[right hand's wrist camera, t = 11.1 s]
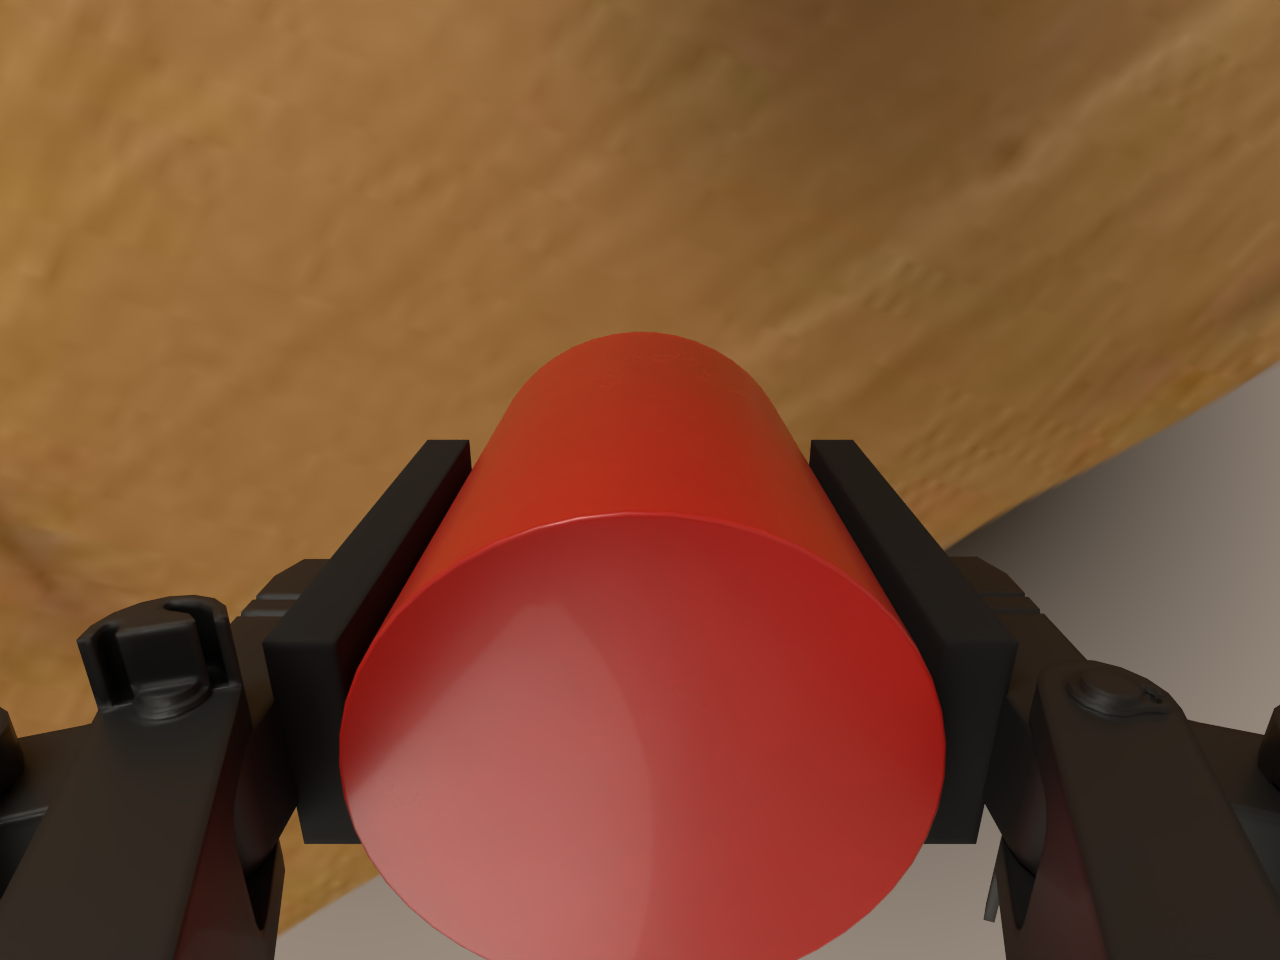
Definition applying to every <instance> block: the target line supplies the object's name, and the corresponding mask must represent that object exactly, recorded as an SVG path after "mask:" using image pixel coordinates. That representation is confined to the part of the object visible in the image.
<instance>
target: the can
mask: <svg viewBox="0 0 1280 960" xmlns="http://www.w3.org/2000/svg"><path fill="white" fill-rule="evenodd" d="M945 762H946V736H945V728H944V720H943V713H942V708H941V705H940V701H939V698H938V695H937V691H936V688H935V685H934V682H933V678H932V676H931V674H930V672H929V670H928V668H927V666H926V664H925V662H924V660H923V658H922V656H921V654H920V652H919V650H918V648H917V646H916V644H915V643H914V641H913V639H912V638H911V636H910V634H909V633H908V631H907V629H906V628H905V626H904V624H903V623H902V621H901V619H900V618H899V616H898V614H897V613H896V611H895V609H894V607H893V606H892V604H891V602H890V601H889V599H888V597H887V596H886V594H885V592H884V591H883V589H882V587H881V586H880V584H879V582H878V581H877V579H876V577H875V575H874V574H873V572H872V570H871V569H870V567H869V565H868V564H867V562H866V560H865V559H864V557H863V555H862V554H861V552H860V550H859V549H858V547H857V545H856V544H855V542H854V540H853V538H852V537H851V535H850V533H849V532H848V530H847V528H846V527H845V525H844V523H843V522H842V520H841V518H840V517H839V515H838V513H837V512H836V510H835V508H834V506H833V505H832V503H831V501H830V500H829V498H828V496H827V495H826V493H825V491H824V490H823V488H822V486H821V485H820V483H819V481H818V480H817V478H816V476H815V474H814V473H813V471H812V469H811V468H810V466H809V464H808V463H807V461H806V459H805V458H804V456H803V454H802V453H801V451H800V449H799V448H798V446H797V444H796V443H795V441H794V439H793V437H792V436H791V434H790V432H789V431H788V429H787V427H786V426H785V424H784V422H783V421H782V419H781V417H780V416H779V414H778V412H777V411H776V409H775V407H774V405H773V404H772V402H771V401H770V399H769V398H768V397H767V395H766V394H765V392H764V391H763V389H762V388H761V387H760V386H759V385H758V384H757V383H756V381H755V380H754V379H753V378H752V377H751V376H750V375H749V374H748V373H747V372H746V371H745V370H743V369H742V368H741V367H740V366H738V365H737V364H736V363H735V362H734V361H732V360H731V359H729V358H727V357H726V356H724V355H723V354H721V353H719V352H718V351H716V350H714V349H712V348H710V347H707V346H705V345H703V344H701V343H698V342H696V341H693V340H689V339H686V338H682V337H679V336H675V335H668V334H662V333H655V332H630V333H621V334H613V335H609V336H605V337H601V338H597V339H593V340H590V341H588V342H585V343H583V344H580V345H577V346H575V347H573V348H571V349H569V350H567V351H566V352H564V353H562V354H560V355H558V356H557V357H555V358H554V359H552V360H551V361H550V362H548V363H547V364H546V365H544V366H543V367H542V368H540V369H539V370H538V371H537V372H536V373H535V374H534V375H533V376H532V377H531V378H530V379H529V380H528V381H527V382H526V383H525V384H524V386H523V387H522V388H521V389H520V391H519V392H518V393H517V395H516V396H515V397H514V399H513V400H512V402H511V404H510V405H509V407H508V409H507V411H506V412H505V414H504V416H503V417H502V419H501V421H500V423H499V424H498V426H497V428H496V430H495V431H494V433H493V435H492V436H491V438H490V440H489V442H488V443H487V445H486V447H485V448H484V450H483V452H482V454H481V455H480V457H479V459H478V460H477V462H476V464H475V466H474V467H473V469H472V471H471V473H470V474H469V476H468V478H467V479H466V481H465V483H464V485H463V486H462V488H461V490H460V491H459V493H458V495H457V497H456V498H455V500H454V502H453V503H452V505H451V507H450V509H449V510H448V512H447V514H446V515H445V517H444V519H443V521H442V522H441V524H440V526H439V528H438V529H437V531H436V533H435V534H434V536H433V538H432V540H431V541H430V543H429V545H428V546H427V548H426V550H425V552H424V553H423V555H422V557H421V558H420V560H419V562H418V564H417V565H416V567H415V569H414V571H413V572H412V574H411V576H410V577H409V579H408V581H407V583H406V584H405V586H404V588H403V589H402V591H401V593H400V595H399V596H398V598H397V600H396V601H395V603H394V605H393V607H392V608H391V610H390V612H389V613H388V615H387V617H386V619H385V620H384V622H383V624H382V626H381V627H380V629H379V631H378V632H377V634H376V636H375V638H374V639H373V641H372V643H371V645H370V647H369V648H368V650H367V652H366V654H365V656H364V657H363V659H362V661H361V663H360V665H359V666H358V668H357V670H356V673H355V676H354V679H353V681H352V684H351V687H350V690H349V693H348V695H347V698H346V701H345V706H344V712H343V717H342V723H341V729H340V748H339V767H340V774H341V780H342V787H343V793H344V799H345V802H346V805H347V808H348V811H349V814H350V817H351V821H352V824H353V827H354V829H355V831H356V833H357V835H358V837H359V839H360V841H361V843H362V845H363V847H364V849H365V851H366V853H367V855H368V857H369V858H370V860H371V861H372V863H373V864H374V866H375V867H376V868H377V870H378V871H379V873H380V874H381V876H382V877H383V878H384V880H385V881H386V883H387V884H388V885H389V886H390V887H391V888H392V889H393V890H394V891H395V893H396V894H397V895H398V896H399V897H400V898H401V899H402V900H403V901H404V902H405V903H406V905H407V906H408V907H410V908H411V909H412V910H413V911H414V912H415V913H417V914H418V915H419V916H420V917H421V918H423V919H424V920H425V921H426V922H427V923H428V924H430V925H431V926H432V927H433V928H435V929H436V930H438V931H439V932H441V933H442V934H444V935H445V936H446V937H448V938H449V939H451V940H452V941H454V942H455V943H457V944H458V945H460V946H462V947H464V948H466V949H468V950H469V951H471V952H473V953H475V954H477V955H479V956H481V957H483V958H485V959H486V960H798V959H800V958H802V957H804V956H806V955H808V954H810V953H812V952H814V951H816V950H818V949H819V948H821V947H823V946H824V945H826V944H827V943H829V942H831V941H832V940H834V939H835V938H837V937H838V936H840V935H842V934H843V933H845V932H846V931H847V930H849V929H850V928H851V927H852V926H854V925H855V924H856V923H857V922H859V921H860V920H861V919H862V918H864V917H865V916H866V915H867V914H869V913H870V912H871V911H872V910H873V909H874V908H875V907H876V906H877V905H878V904H879V903H880V902H881V901H882V900H883V899H884V898H885V897H886V896H887V895H888V894H889V893H890V892H891V891H892V890H893V888H894V887H895V886H896V885H897V883H898V882H899V881H900V879H901V878H902V877H903V875H904V874H905V873H906V871H907V870H908V869H909V867H910V866H911V865H912V863H913V861H914V860H915V858H916V856H917V854H918V853H919V851H920V849H921V847H922V845H923V844H924V842H925V840H926V838H927V836H928V834H929V831H930V828H931V826H932V823H933V821H934V818H935V815H936V813H937V810H938V807H939V802H940V798H941V793H942V788H943V783H944V778H945Z"/></svg>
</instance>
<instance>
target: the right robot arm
mask: <svg viewBox="0 0 1280 960" xmlns="http://www.w3.org/2000/svg"><path fill="white" fill-rule="evenodd" d="M809 466H810V468H811V469H812V471H813V473H814V474H815V476H816V478H817V480H818V481H819V483H820V485H821V486H822V488H823V490H824V491H825V493H826V495H827V496H828V498H829V500H830V501H831V503H832V505H833V506H834V508H835V510H836V512H837V513H838V515H839V517H840V518H841V520H842V522H843V523H844V525H845V527H846V528H847V530H848V532H849V533H850V535H851V537H852V538H853V540H854V542H855V544H856V545H857V547H858V549H859V550H860V552H861V554H862V555H863V557H864V559H865V560H866V562H867V564H868V565H869V567H870V569H871V570H872V572H873V574H874V575H875V577H876V579H877V581H878V582H879V584H880V586H881V587H882V589H883V591H884V592H885V594H886V596H887V597H888V599H889V601H890V602H891V604H892V606H893V607H894V609H895V611H896V613H897V614H898V616H899V618H900V619H901V621H902V623H903V624H904V626H905V628H906V629H907V631H908V633H909V634H910V636H911V638H912V639H913V641H914V643H915V644H916V646H917V648H918V650H919V652H920V654H921V656H922V658H923V660H924V662H925V664H926V666H927V668H928V670H929V672H930V674H931V676H932V678H933V682H934V685H935V688H936V691H937V695H938V698H939V701H940V705H941V708H942V713H943V720H944V728H945V736H946V762H945V778H944V783H943V788H942V793H941V798H940V802H939V807H938V810H937V813H936V815H935V818H934V821H933V823H932V826H931V828H930V831H929V834H928V836H927V838H926V840H925V842H924V844H976V842H977V837H978V832H979V828H980V823H981V818H982V813H983V809H984V804H985V805H986V807H987V808H988V810H989V812H990V814H991V816H992V817H993V819H994V821H995V823H996V825H997V826H998V828H999V830H1000V832H1001V834H1002V837H1001V841H1000V846H999V850H998V854H997V859H996V863H995V868H994V872H993V876H992V881H991V885H990V889H989V894H988V898H987V902H986V908H985V914H984V920H987V921H991V922H995V918H996V914H997V909H998V906H999V905H1000V913H1001V920H1002V929H1003V937H1004V945H1005V953H1006V960H1280V705H1279V706H1277V707H1276V708H1274V711H1273V714H1272V716H1271V719H1270V721H1269V724H1268V727H1267V730H1266V732H1265V735H1262V734H1256V733H1251V732H1246V731H1241V730H1236V729H1230V728H1225V727H1220V726H1215V725H1209V724H1205V723H1199V722H1195V721H1191V720H1187V718H1186V716H1185V714H1184V712H1183V710H1182V709H1181V707H1180V706H1179V705H1178V704H1177V703H1176V701H1175V700H1174V699H1173V698H1172V697H1171V695H1170V694H1169V693H1168V692H1166V691H1165V690H1163V689H1162V688H1160V687H1159V686H1157V685H1156V684H1154V683H1153V682H1151V681H1150V680H1148V679H1147V678H1144V677H1142V676H1140V675H1137V674H1135V673H1133V672H1131V671H1128V670H1126V669H1124V668H1121V667H1118V666H1114V665H1110V664H1106V663H1102V662H1098V661H1092V660H1087V659H1086V658H1085V657H1084V656H1083V655H1082V654H1081V653H1080V652H1079V651H1078V650H1077V649H1076V648H1075V647H1074V645H1073V644H1072V643H1071V642H1070V641H1069V640H1068V639H1067V638H1066V637H1065V636H1064V635H1063V634H1062V633H1061V632H1060V630H1059V629H1058V628H1057V627H1056V626H1055V625H1054V624H1053V623H1052V622H1051V621H1050V620H1049V619H1048V618H1047V617H1046V615H1045V614H1040V609H1039V608H1038V607H1037V606H1036V605H1035V604H1034V603H1033V602H1032V600H1031V599H1030V598H1029V597H1025V593H1024V592H1023V591H1022V590H1021V589H1020V588H1019V586H1018V585H1017V584H1016V583H1015V582H1014V581H1013V580H1012V579H1011V578H1010V577H1009V576H1008V575H1007V574H1006V573H1005V572H1003V571H1001V570H999V569H997V568H996V567H994V566H992V565H990V564H989V563H987V562H985V561H983V560H982V559H980V558H978V557H948V555H947V554H946V553H945V552H944V551H943V549H942V548H941V547H940V546H939V544H938V543H937V542H936V541H935V540H934V538H933V537H932V536H931V535H930V533H929V532H928V531H927V530H926V529H925V527H924V526H923V525H922V524H921V522H920V521H919V520H918V519H917V518H916V516H915V515H914V514H913V513H912V511H911V510H910V509H909V508H908V507H907V505H906V504H905V503H904V502H903V501H902V499H901V498H900V497H899V496H898V494H897V493H896V492H895V491H894V490H893V488H892V487H891V486H890V485H889V483H888V482H887V481H886V480H885V479H884V477H883V476H882V475H881V474H880V472H879V471H878V470H877V469H876V468H875V466H874V465H873V464H872V463H871V461H870V460H869V459H868V458H867V457H866V455H865V454H864V453H863V452H862V450H861V449H860V448H859V447H858V446H857V444H856V443H855V442H854V441H853V440H811V450H810V461H809ZM471 471H472V467H471V456H470V444H469V440H427V441H426V443H425V444H424V445H423V446H422V447H421V449H420V450H419V451H418V452H417V454H416V455H415V456H414V457H413V458H412V460H411V461H410V462H409V463H408V465H407V466H406V467H405V468H404V469H403V471H402V472H401V473H400V474H399V476H398V477H397V478H396V479H395V480H394V482H393V483H392V484H391V485H390V486H389V488H388V489H387V490H386V491H385V493H384V494H383V495H382V496H381V497H380V499H379V500H378V501H377V502H376V504H375V505H374V506H373V507H372V508H371V510H370V511H369V512H368V513H367V515H366V516H365V517H364V518H363V519H362V521H361V522H360V523H359V524H358V526H357V527H356V528H355V529H354V530H353V532H352V533H351V534H350V535H349V537H348V538H347V539H346V540H345V541H344V543H343V544H342V545H341V546H340V548H339V549H338V550H337V551H336V552H335V554H334V555H333V556H332V557H331V559H304V560H302V561H300V562H298V563H297V564H295V565H293V566H291V567H290V568H288V569H286V570H284V571H283V572H281V573H279V574H277V575H276V576H274V577H273V578H272V579H271V581H270V582H269V583H268V584H267V585H266V586H265V587H264V588H263V589H262V590H261V591H260V592H259V594H258V595H257V596H256V597H257V598H256V600H252V601H251V602H250V603H249V604H248V605H247V607H246V608H245V609H244V610H243V611H242V612H241V616H237V617H236V618H235V620H234V621H233V622H232V623H231V624H230V622H229V617H228V613H227V609H226V606H225V605H224V604H222V603H221V602H219V601H218V600H216V599H215V598H210V597H204V596H198V595H186V596H169V597H164V598H160V599H155V600H150V601H146V602H141V603H138V604H136V605H133V606H130V607H128V608H125V609H122V610H120V611H117V612H114V613H112V614H110V615H109V616H107V617H105V618H103V619H102V620H100V621H98V622H96V623H95V624H93V625H91V626H90V627H89V628H88V629H87V630H86V631H85V632H84V633H83V634H82V635H81V636H80V637H79V638H78V639H77V640H76V641H77V644H78V647H79V650H80V653H81V657H82V660H83V663H84V666H85V669H86V672H87V675H88V679H89V682H90V685H91V688H92V691H93V694H94V698H95V701H96V704H97V707H98V712H97V714H96V716H95V718H94V720H93V721H92V723H91V724H87V725H83V726H78V727H73V728H68V729H63V730H58V731H52V732H47V733H42V734H37V735H32V736H27V737H21V738H17V736H16V733H15V730H14V728H13V725H12V722H11V719H10V717H9V714H8V712H7V711H6V710H4V709H2V708H1V707H0V960H274V955H275V947H276V939H277V931H278V923H279V915H280V907H281V899H282V891H283V883H284V874H285V867H284V860H283V854H282V850H281V845H280V841H279V837H280V835H281V833H282V832H283V830H284V828H285V826H286V824H287V822H288V821H289V819H290V817H291V815H292V813H293V811H294V810H295V808H296V806H297V811H298V816H299V820H300V825H301V830H302V835H303V839H304V844H362V843H361V841H360V839H359V837H358V835H357V833H356V831H355V829H354V827H353V824H352V821H351V817H350V814H349V811H348V808H347V805H346V802H345V799H344V793H343V787H342V780H341V774H340V767H339V748H340V729H341V723H342V717H343V712H344V706H345V701H346V698H347V695H348V693H349V690H350V687H351V684H352V681H353V679H354V676H355V673H356V670H357V668H358V666H359V665H360V663H361V661H362V659H363V657H364V656H365V654H366V652H367V650H368V648H369V647H370V645H371V643H372V641H373V639H374V638H375V636H376V634H377V632H378V631H379V629H380V627H381V626H382V624H383V622H384V620H385V619H386V617H387V615H388V613H389V612H390V610H391V608H392V607H393V605H394V603H395V601H396V600H397V598H398V596H399V595H400V593H401V591H402V589H403V588H404V586H405V584H406V583H407V581H408V579H409V577H410V576H411V574H412V572H413V571H414V569H415V567H416V565H417V564H418V562H419V560H420V558H421V557H422V555H423V553H424V552H425V550H426V548H427V546H428V545H429V543H430V541H431V540H432V538H433V536H434V534H435V533H436V531H437V529H438V528H439V526H440V524H441V522H442V521H443V519H444V517H445V515H446V514H447V512H448V510H449V509H450V507H451V505H452V503H453V502H454V500H455V498H456V497H457V495H458V493H459V491H460V490H461V488H462V486H463V485H464V483H465V481H466V479H467V478H468V476H469V474H470V473H471Z"/></svg>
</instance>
